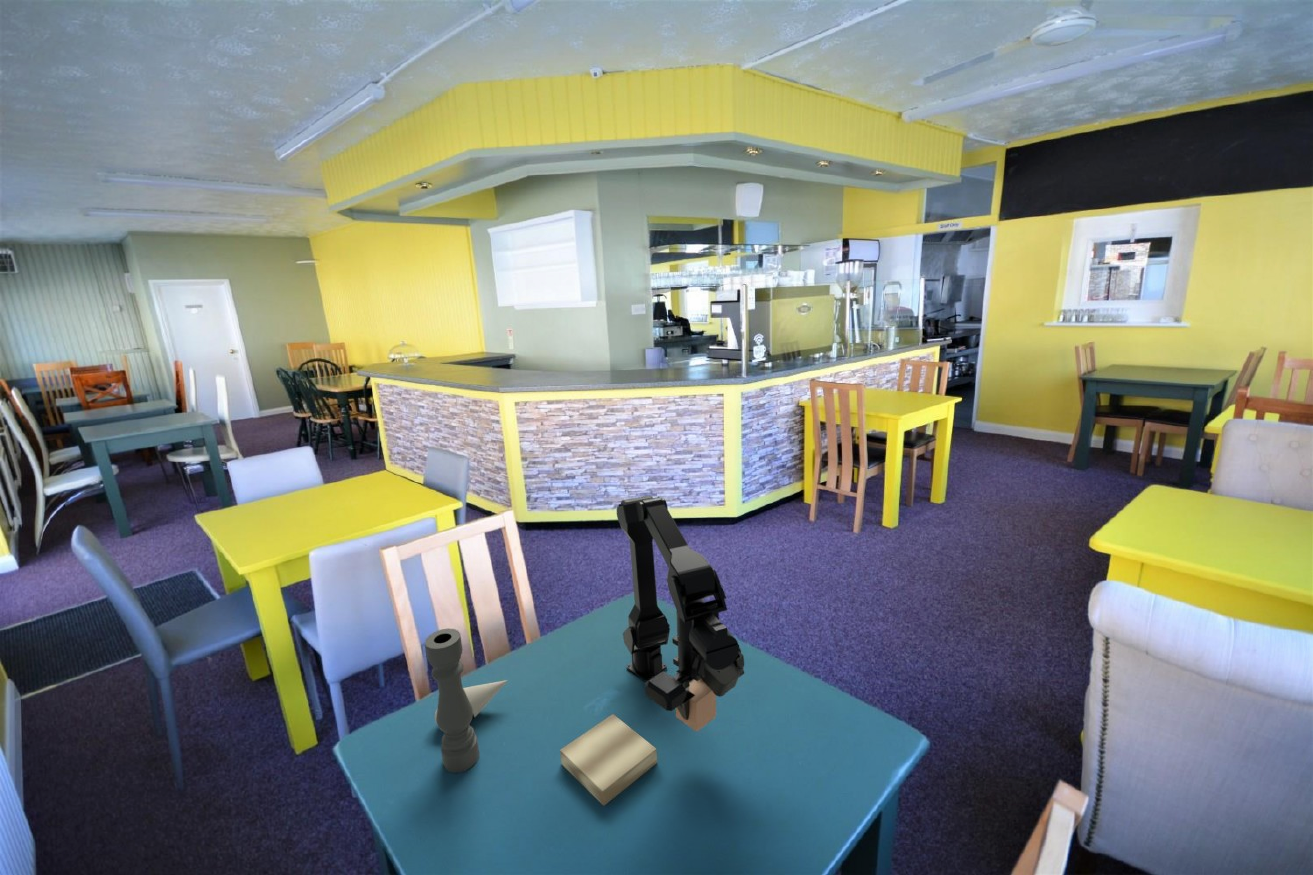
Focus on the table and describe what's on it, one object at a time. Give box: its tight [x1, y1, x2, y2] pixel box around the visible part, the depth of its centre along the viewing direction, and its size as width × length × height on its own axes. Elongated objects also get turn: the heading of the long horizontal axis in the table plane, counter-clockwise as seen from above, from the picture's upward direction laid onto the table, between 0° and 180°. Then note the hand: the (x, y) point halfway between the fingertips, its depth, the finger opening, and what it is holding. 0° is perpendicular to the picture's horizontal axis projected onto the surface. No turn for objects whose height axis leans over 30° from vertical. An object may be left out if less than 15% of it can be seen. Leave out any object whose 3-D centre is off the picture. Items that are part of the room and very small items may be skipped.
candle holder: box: [424, 628, 480, 774], centre depth 100 cm, size 6×6×25 cm
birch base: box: [559, 713, 658, 807], centre depth 101 cm, size 12×12×3 cm
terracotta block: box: [675, 679, 717, 733], centre depth 101 cm, size 5×5×6 cm
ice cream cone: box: [434, 679, 509, 726], centre depth 114 cm, size 6×6×15 cm
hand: (695, 710), depth 101 cm, fingers closed on terracotta block, 5 cm apart
